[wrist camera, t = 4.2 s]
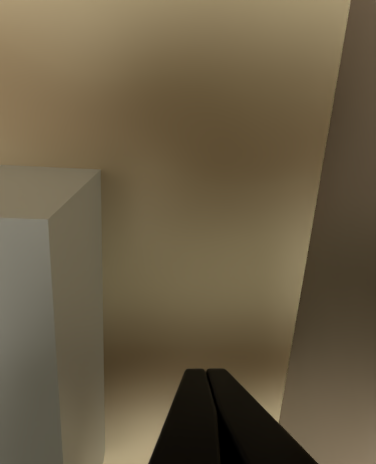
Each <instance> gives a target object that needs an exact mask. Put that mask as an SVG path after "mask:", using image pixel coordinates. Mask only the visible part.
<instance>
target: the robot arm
mask: <svg viewBox="0 0 376 464" xmlns="http://www.w3.org/2000/svg"><path fill="white" fill-rule="evenodd" d="M148 464H318V463H317V462H316V461H315V460H314V459H313V458H312V457H311V456H310V455H309V454H308V453H307V452H306V451H305V450H304V449H303V448H302V447H301V446H300V445H299V444H298V442H297V441H296V440H295V439H294V438H293V437H292V436H291V435H290V434H289V433H288V432H287V431H286V430H285V429H284V428H283V427H282V426H281V425H280V424H279V423H278V422H277V421H276V420H275V419H274V418H273V417H272V416H271V415H270V414H269V413H268V412H267V411H266V410H265V409H264V408H263V407H262V406H261V405H260V403H259V402H258V401H257V400H256V399H255V398H254V397H253V396H252V395H251V394H250V393H249V392H248V391H247V390H246V389H245V388H244V387H243V386H242V385H241V384H240V383H239V382H238V381H237V380H236V379H235V378H234V377H233V376H232V375H231V374H230V373H229V372H228V371H227V370H226V369H224V368H209V369H207V370H206V371H205V370H204V369H202V368H196V369H186V370H185V371H184V374H183V376H182V379H181V381H180V384H179V386H178V389H177V391H176V394H175V397H174V399H173V402H172V404H171V407H170V409H169V412H168V414H167V417H166V419H165V422H164V425H163V427H162V430H161V432H160V435H159V437H158V440H157V442H156V445H155V447H154V450H153V453H152V455H151V458H150V460H149V463H148Z"/></svg>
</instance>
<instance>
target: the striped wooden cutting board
mask: <svg viewBox="0 0 376 464" xmlns="http://www.w3.org/2000/svg"><path fill="white" fill-rule="evenodd" d="M350 2H351V0H0V165H14V166H36V167H58V168H79V169H101V218H102V281H103V344H104V407H105V455H104V462H103V464H148V463H149V460H150V458H151V455H152V453H153V450H154V447H155V445H156V442H157V440H158V437H159V435H160V432H161V430H162V427H163V425H164V422H165V419H166V417H167V414H168V412H169V409H170V407H171V404H172V402H173V399H174V397H175V394H176V391H177V389H178V386H179V384H180V381H181V379H182V376H183V374H184V371H185V370H186V369H196V368H202V369H204V370H205V371H206V370H207V369H209V368H224V369H226V370H227V371H228V372H229V373H230V374H231V375H232V376H233V377H234V378H235V379H236V380H237V381H238V382H239V383H240V384H241V385H242V386H243V387H244V388H245V389H246V390H247V391H248V392H249V393H250V394H251V395H252V396H253V397H254V398H255V399H256V400H257V401H258V402H259V403H260V405H261V406H262V407H263V408H264V409H265V410H266V411H267V412H268V413H269V414H270V415H271V416H272V417H273V418H274V419H275V420H276V421H277V422H278V423H279V418H280V412H281V406H282V400H283V394H284V388H285V382H286V377H287V371H288V365H289V359H290V353H291V347H292V342H293V336H294V330H295V324H296V318H297V312H298V306H299V301H300V295H301V289H302V283H303V277H304V271H305V266H306V260H307V254H308V248H309V242H310V236H311V230H312V225H313V219H314V213H315V207H316V201H317V195H318V190H319V184H320V178H321V172H322V166H323V160H324V154H325V149H326V143H327V137H328V131H329V125H330V119H331V114H332V108H333V102H334V96H335V90H336V84H337V78H338V73H339V67H340V61H341V55H342V49H343V43H344V38H345V32H346V26H347V20H348V14H349V8H350Z"/></svg>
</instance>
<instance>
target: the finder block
mask: <svg viewBox="0 0 376 464" xmlns="http://www.w3.org/2000/svg"><path fill="white" fill-rule="evenodd" d="M104 455H105V407H104V344H103V281H102V218H101V169H79V168H58V167H36V166H14V165H0V464H103V462H104Z"/></svg>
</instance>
